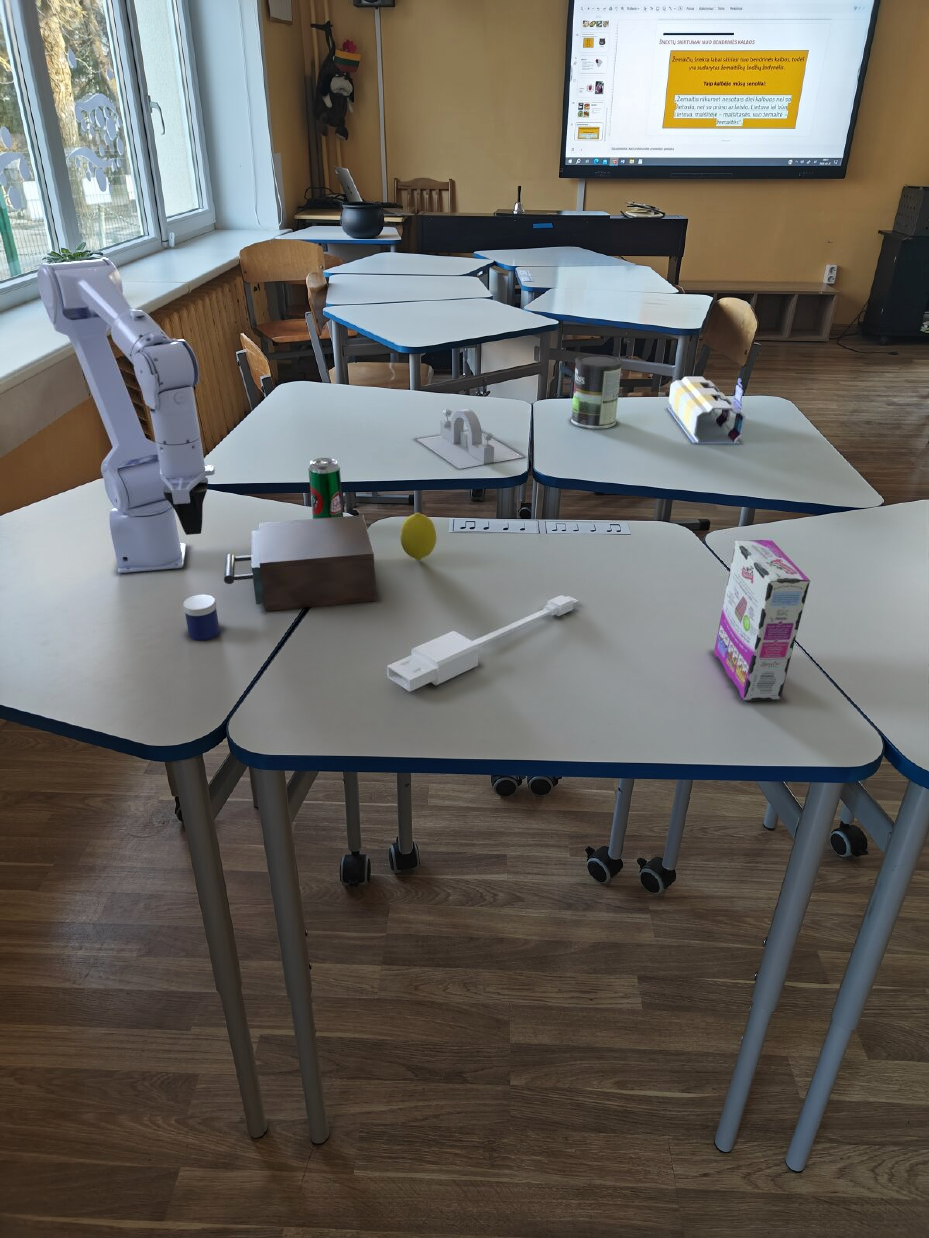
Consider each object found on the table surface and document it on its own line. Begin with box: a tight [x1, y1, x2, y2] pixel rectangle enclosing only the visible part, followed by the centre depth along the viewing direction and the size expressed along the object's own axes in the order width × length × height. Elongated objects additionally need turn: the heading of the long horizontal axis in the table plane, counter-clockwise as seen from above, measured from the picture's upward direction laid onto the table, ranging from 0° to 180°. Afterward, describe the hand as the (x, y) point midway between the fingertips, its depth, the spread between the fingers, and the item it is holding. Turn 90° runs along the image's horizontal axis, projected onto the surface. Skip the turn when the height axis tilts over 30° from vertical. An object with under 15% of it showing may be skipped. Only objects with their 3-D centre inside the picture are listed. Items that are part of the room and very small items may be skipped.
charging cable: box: [386, 594, 579, 693], centre depth 112 cm, size 5×32×3 cm, turn 133°
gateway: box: [439, 408, 496, 465], centre depth 178 cm, size 20×2×8 cm, turn 28°
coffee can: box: [570, 353, 623, 430], centre depth 193 cm, size 10×10×14 cm
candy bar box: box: [713, 539, 811, 702], centre depth 103 cm, size 11×5×16 cm, turn 5°
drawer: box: [223, 529, 265, 605], centre depth 125 cm, size 19×12×6 cm, turn 102°
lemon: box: [400, 512, 437, 561], centre depth 132 cm, size 6×6×8 cm
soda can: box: [308, 457, 344, 519], centre depth 141 cm, size 5×5×12 cm
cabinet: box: [258, 514, 377, 612], centre depth 125 cm, size 16×14×8 cm
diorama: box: [668, 376, 746, 445], centre depth 191 cm, size 25×10×13 cm, turn 1°
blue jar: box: [182, 594, 220, 641], centre depth 114 cm, size 4×4×5 cm
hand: (193, 532), depth 119 cm, fingers closed
